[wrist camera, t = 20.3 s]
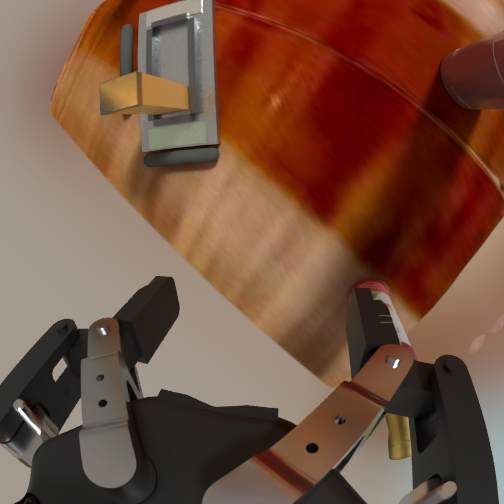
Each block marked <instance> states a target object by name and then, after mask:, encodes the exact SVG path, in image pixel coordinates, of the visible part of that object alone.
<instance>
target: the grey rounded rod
mask: <svg viewBox="0 0 504 504" xmlns="http://www.w3.org/2000/svg"><path fill="white" fill-rule="evenodd" d="M132 49H133V26H132V25H131V24H126V25H124V26H123V27H122V29H121V44H120V76H123V75H126V74H129V73H132Z"/></svg>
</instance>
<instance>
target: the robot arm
mask: <svg viewBox="0 0 504 504" xmlns="http://www.w3.org/2000/svg"><path fill="white" fill-rule="evenodd" d="M440 72H441V78H442V82H443V85H444V87H445V89H446V91H447V92H448V94H449V95H450V97H451V98H452V99H453V100H454V101H455V102H456V103H457V104H459V105H460V106H462V107H464V108H466V109H471V110H478V109H504V31H502V32H499V33H497V34H494V35H491V36H489V37H486V38H484V39H481V40H479V41H476V42H474V43H472V44H469V45H467V46H465V47H462V48H460V49H458V50H455V51H453V52H451V53H449V54H447V55H446V56H445V57H444V58H443V60H442V62H441V67H440ZM179 309H180V307H179V301H178V296H177V292H176V286H175V282H174V279H173V278H172V277H164V276H156V277H155V278H154V279H153V280H152V281H151V283H150V284H149V285H146V286H145V287H143V288H141V289H139V290H138V291H137V292H136V293H135V294H134V295H133V296H132V298H130V299H129V301H128V303H126V304H125V305H124V306H123V307H122V308H121V309H120V310H119V311H118V312H117V314H116V315H115V316H114V317H113V318H102V319H100V320H97V321H95V322H94V323H93V324H92V325H91V326H90V327H89V329H77V326H76V324H75V322H74V321H73V320H71V319H63V320H60V321H58V322H56V323H55V324H53V326H51V327H50V329H49V330H48V331H47V332H46V333H45V334H44V335H43V336H42V337H41V338H40V339H39V341H37V342H36V344H35V345H34V346H33V347H32V348H31V349H30V350H29V351H28V352H27V354H26V355H25V356H24V357H23V359H21V360H20V362H19V363H18V364H17V365H16V366H15V368H14V369H13V370H12V371H11V372H10V374H9V375H8V376H7V377H6V378H5V380H4V381H3V382H2V383H1V385H0V445H1V446H2V447H3V448H5V449H6V450H7V451H8V452H9V453H10V454H11V455H13V456H14V457H16V458H17V459H18V460H20V461H21V462H22V463H23V464H25V465H26V466H27V467H30V468H31V476H30V482H29V487H28V490H27V493H26V495H25V496H24V498H23V499H22V500H20V501H19V502H17V503H14V504H367V503H366V502H365V501H364V500H363V499H362V498H361V497H360V495H359V494H358V493H357V492H356V491H355V490H354V489H353V488H352V486H351V485H350V484H349V483H348V482H347V481H346V480H345V478H344V477H343V476H342V475H341V474H340V473H341V472H342V471H343V470H344V469H345V468H346V466H347V465H348V464H349V463H350V462H351V461H352V459H353V458H354V457H355V456H356V454H357V453H358V452H359V450H360V449H361V448H362V446H363V445H364V444H365V443H366V441H367V440H368V439H369V438H370V436H371V435H372V434H373V432H374V431H375V430H376V428H377V427H378V426H379V424H380V423H381V422H382V420H383V419H384V417H385V416H386V415H387V413H390V414H394V415H399V416H404V417H408V421H409V430H410V441H411V454H412V473H413V491H411V492H410V493H408V494H407V495H405V496H404V497H403V498H402V500H401V501H400V503H399V504H499V501H498V500H499V499H498V489H497V481H496V474H495V467H494V461H493V456H492V451H491V446H490V442H489V437H488V433H487V429H486V425H485V421H484V418H483V414H482V411H481V407H480V404H479V401H478V398H477V395H476V392H475V389H474V386H473V383H472V380H471V377H470V374H469V372H468V369H467V367H466V365H465V363H464V362H463V361H462V360H461V359H459V358H458V357H456V356H452V355H443V356H441V357H439V358H438V359H437V360H436V361H435V363H434V364H429V363H424V362H419V361H416V360H414V359H413V356H412V354H411V352H410V351H409V350H408V349H406V348H405V347H403V346H401V344H400V341H399V338H398V335H397V332H396V329H395V326H394V323H393V320H392V317H391V314H390V311H389V309H388V306H387V305H386V304H385V303H384V302H383V301H382V300H374V299H373V296H372V293H371V290H370V288H352V291H351V297H350V303H349V309H348V315H347V323H346V331H347V339H348V347H349V356H350V366H351V377H352V380H351V381H350V382H347V381H344V382H342V383H341V384H340V385H339V386H338V387H337V388H336V389H335V390H334V391H333V392H332V393H331V394H330V395H329V396H328V397H327V398H326V399H325V400H324V401H323V402H322V403H321V404H320V405H319V406H318V407H317V408H316V409H315V410H314V411H313V412H312V413H311V414H309V415H308V416H307V417H306V418H305V419H304V420H303V421H302V422H301V423H299V425H295V424H293V423H292V422H290V421H287V420H285V419H282V418H279V417H278V408H267V407H258V406H249V405H244V406H229V407H228V406H227V407H214V406H211V405H208V404H206V403H203V402H201V401H199V400H197V399H195V398H192V397H191V396H188V395H185V394H180V393H176V392H172V391H168V390H164V389H161V391H160V392H159V395H158V396H157V397H146V398H144V397H143V394H142V389H141V385H140V381H139V377H138V372H137V368H136V366H135V364H136V363H137V361H138V362H141V363H145V364H148V362H149V361H150V359H151V358H152V356H153V354H154V353H155V351H156V350H157V348H158V347H159V345H160V344H161V342H162V341H163V339H164V337H165V336H166V334H167V333H168V331H169V330H170V328H171V327H172V325H173V324H174V322H175V320H176V319H177V317H178V315H179ZM62 357H63V359H64V361H65V363H66V364H67V368H66V369H65V370H64V372H63V373H62V374H61V376H60V377H59V378H58V380H57V381H56V382H55V381H54V379H53V376H52V372H53V369H54V367H55V366H56V365H57V364H58V362H59V361H60V360H61V358H62ZM80 398H81V403H82V420H83V425H81V426H78V427H76V428H74V429H72V430H69V431H67V432H64V433H62V434H60V435H59V431H60V430H61V428H62V426H63V425H64V423H65V421H66V420H67V418H68V417H69V415H70V413H71V412H72V410H73V409H74V407H75V406H76V404H77V402H78V401H79V399H80Z"/></svg>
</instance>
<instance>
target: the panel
mask: <svg viewBox="0 0 504 504" xmlns="http://www.w3.org/2000/svg"><path fill="white" fill-rule="evenodd" d="M138 72H142V73H144V74H148V75H152V76H156V77H159V78H163V79H167V80H170V81H174V82H177V83H180V84H183V85H187V86H189V104H190V110H184V111H178V112H172V113H166V114H161V115H151V114H139V116H140V131H141V143H142V152H147V151H154V150H162V149H169V148H178V147H187V146H197V145H209V144H220V143H221V137H220V119H219V99H218V77H217V50H216V15H215V0H183V1H179V2H176V3H172V4H169V5H165V6H162V7H159V8H156V9H153V10H150V11H147V12H144V13H141V14H139V32H138Z"/></svg>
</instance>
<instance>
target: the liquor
mask: <svg viewBox="0 0 504 504" xmlns="http://www.w3.org/2000/svg"><path fill="white" fill-rule="evenodd" d="M353 288H370V290H371V293H372V296H373V299H374V300H382V301H383V302H384V303H385V304H386V305H387V306H388V309H389V311H390V314H391V317H392V320H393V323H394V326H395V329H396V332H397V335H398V338H399V341H400V344H401V346H403V347H405V348H406V349H408V350H409V351H410V352H411V354H412V356H413V359H414V360H416V361H418V359H417V357H416V354H415V352H414V349H413V347H412V344H411V342H410V340H409V337H408V335H407V333H406V331H405V329H404V327H403V325H402V323H401V321H400V319H399V316H398V314H397V312H396V310H395V308H394V305H393V303H392V301H391V299H390V290H389V287H388V285H387V284H386V283H385V282H384V281H382V280H379V279H375V278H370V279H365V280H363V281H361V282H359V283H358V284H356V285H355V286H354V287H353ZM351 291H352V290H351ZM350 297H351V292H350V295H349V303H350ZM385 417H386V421H387V425H388V429H389V438H388V448H389V457H390V459H391V460H400V459H404V458H407V457H409V456H411V455H412V454H411V441H410V430H409V421H408V417H404V416H399V415H394V414H390V413H387V415H386V416H385Z"/></svg>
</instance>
